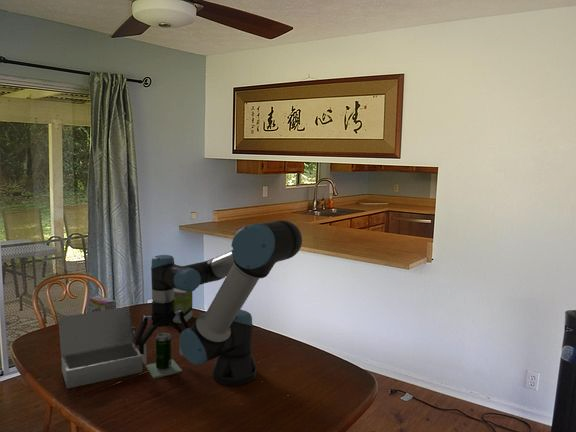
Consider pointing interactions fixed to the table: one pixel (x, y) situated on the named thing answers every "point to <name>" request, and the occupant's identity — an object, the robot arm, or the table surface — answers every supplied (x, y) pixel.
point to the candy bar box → (101, 304)
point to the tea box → (182, 304)
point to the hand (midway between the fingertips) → (163, 358)
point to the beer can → (163, 351)
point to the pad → (158, 373)
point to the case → (98, 334)
